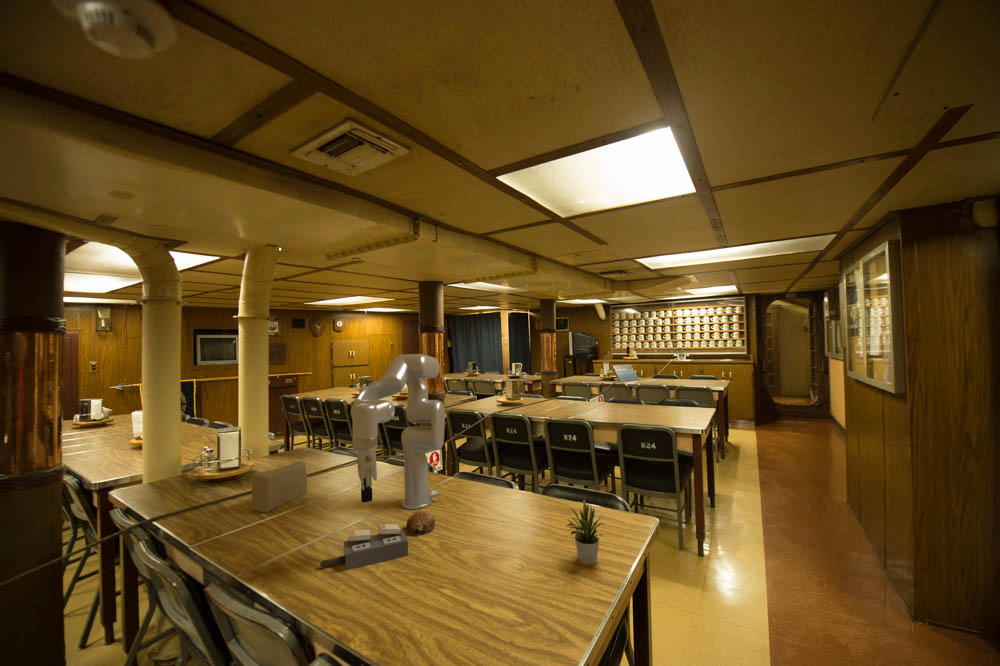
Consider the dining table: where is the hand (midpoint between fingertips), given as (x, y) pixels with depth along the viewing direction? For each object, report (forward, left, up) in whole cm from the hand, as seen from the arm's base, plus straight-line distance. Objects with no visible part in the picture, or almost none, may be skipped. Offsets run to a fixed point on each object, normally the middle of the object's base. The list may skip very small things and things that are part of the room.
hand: (366, 500), depth 127 cm
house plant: (-58, +35, -16) cm, 69 cm away
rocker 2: (-7, +2, -10) cm, 12 cm away
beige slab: (+27, -62, -16) cm, 70 cm away
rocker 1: (+2, +2, -10) cm, 10 cm away
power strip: (+1, +4, -16) cm, 16 cm away
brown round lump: (-19, -8, -16) cm, 26 cm away
